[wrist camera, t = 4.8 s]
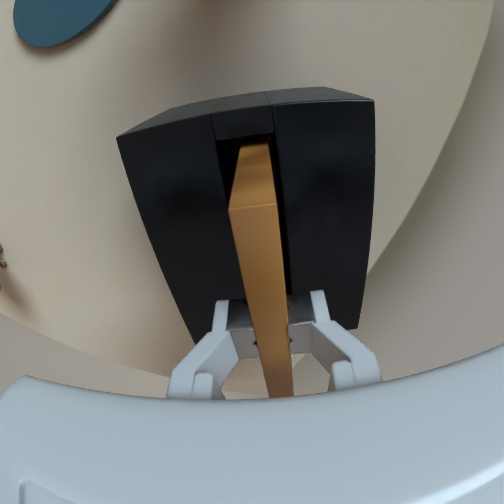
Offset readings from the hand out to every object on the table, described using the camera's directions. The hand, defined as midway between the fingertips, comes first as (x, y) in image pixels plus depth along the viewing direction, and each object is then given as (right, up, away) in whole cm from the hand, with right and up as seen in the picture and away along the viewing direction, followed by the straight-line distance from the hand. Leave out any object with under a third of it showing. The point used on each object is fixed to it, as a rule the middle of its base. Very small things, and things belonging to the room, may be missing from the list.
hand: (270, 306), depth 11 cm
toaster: (0, +7, +10) cm, 13 cm away
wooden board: (0, +5, +7) cm, 8 cm away
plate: (-15, +23, -1) cm, 28 cm away
